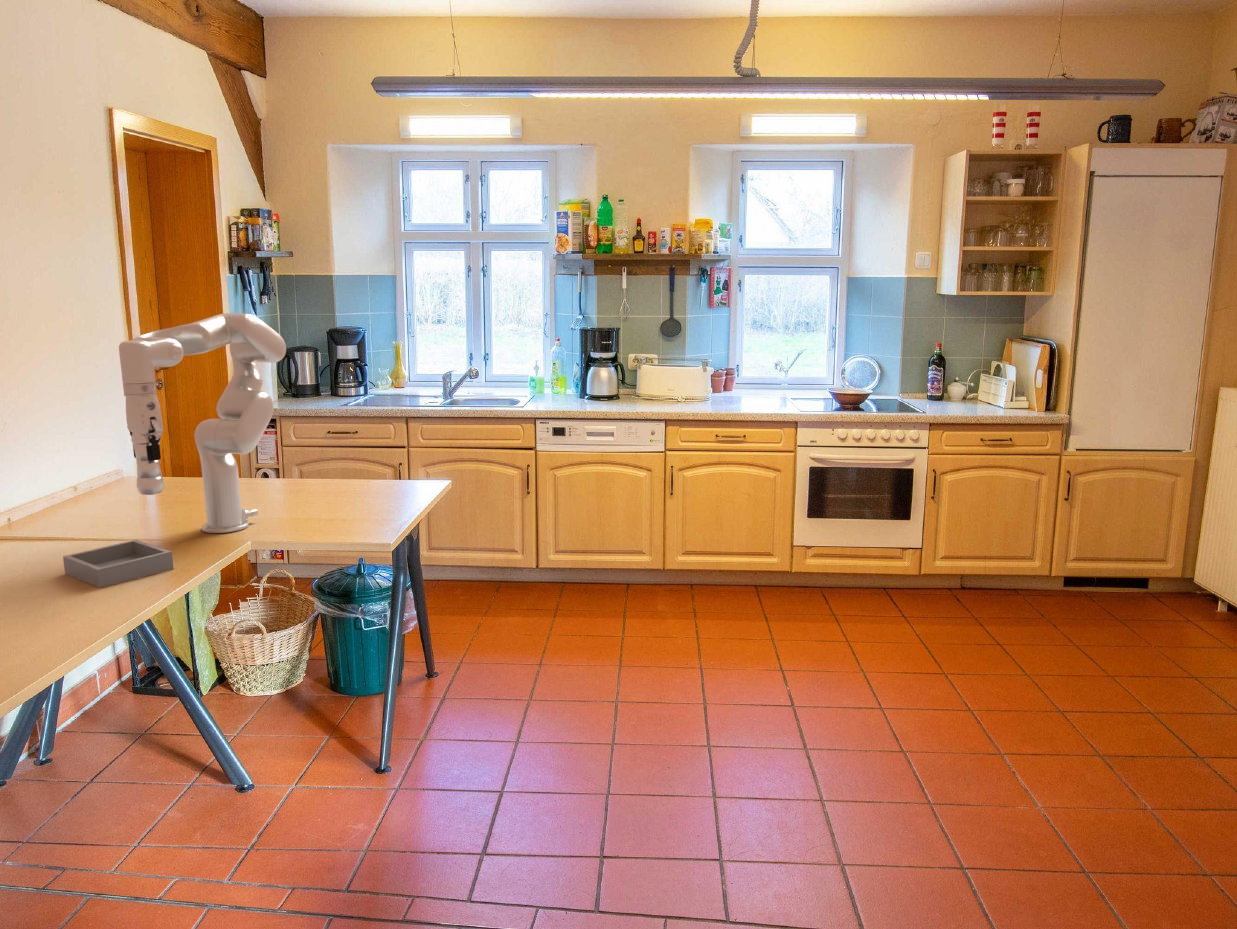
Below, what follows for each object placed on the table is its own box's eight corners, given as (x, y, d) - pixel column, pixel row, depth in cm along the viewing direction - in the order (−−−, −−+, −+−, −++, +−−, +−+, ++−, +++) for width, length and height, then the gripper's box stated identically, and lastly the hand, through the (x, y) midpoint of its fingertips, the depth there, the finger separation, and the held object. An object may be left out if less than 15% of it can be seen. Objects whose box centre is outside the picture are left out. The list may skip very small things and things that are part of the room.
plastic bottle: (138, 498, 249) (129, 421, 245) (137, 492, 255) (128, 417, 251) (165, 495, 252) (157, 419, 248) (164, 490, 258) (156, 415, 254)
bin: (137, 556, 254) (135, 539, 253) (173, 568, 243) (171, 551, 242) (65, 573, 240) (62, 556, 239) (99, 588, 229) (97, 569, 228)
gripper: (171, 390, 245) (178, 460, 249) (137, 385, 256) (145, 452, 260) (142, 393, 240) (150, 465, 243) (108, 388, 250) (116, 457, 254)
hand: (147, 458), depth 251 cm, fingers closed on plastic bottle, 6 cm apart
